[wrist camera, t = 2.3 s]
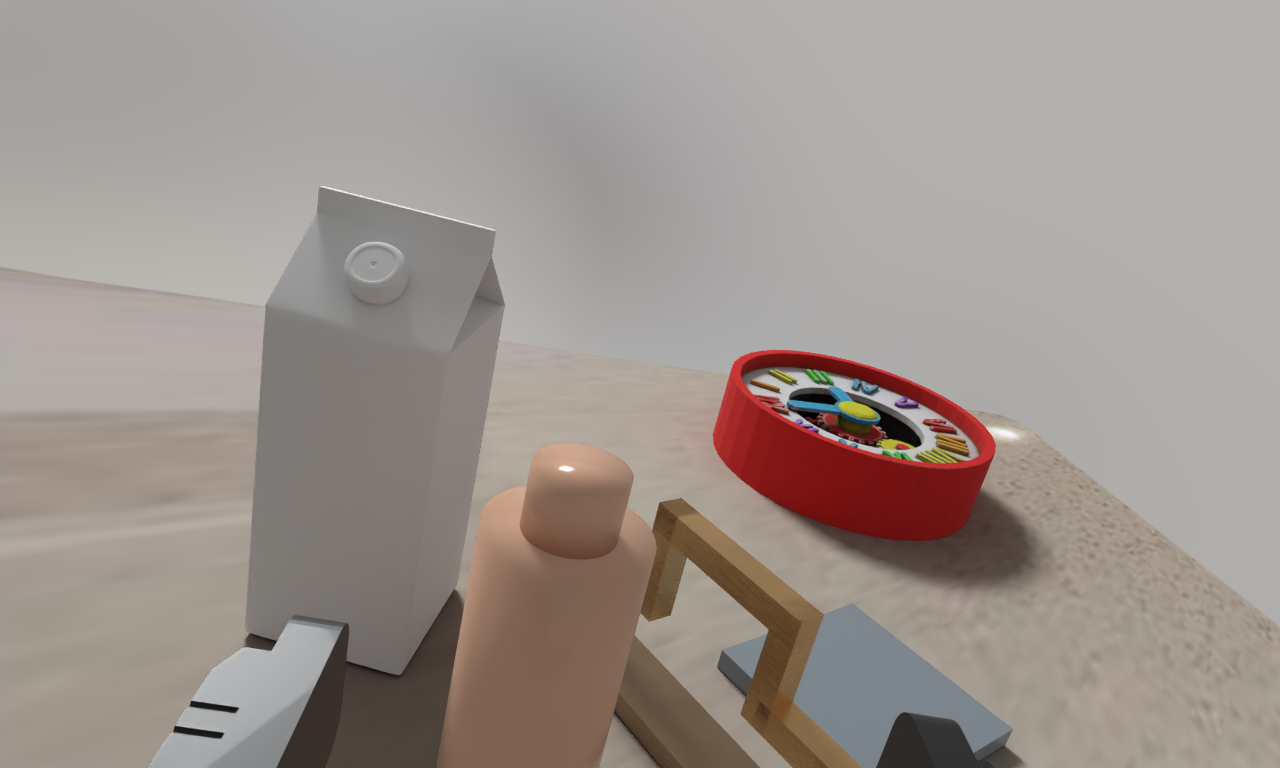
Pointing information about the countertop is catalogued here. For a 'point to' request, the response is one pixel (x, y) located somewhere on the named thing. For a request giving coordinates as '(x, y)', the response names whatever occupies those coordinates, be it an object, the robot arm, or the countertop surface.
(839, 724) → the pad
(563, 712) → the peach bottle
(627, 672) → the golden stepped frame
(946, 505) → the toy clock
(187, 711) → the robot arm
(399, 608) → the milk carton
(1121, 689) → the countertop surface
